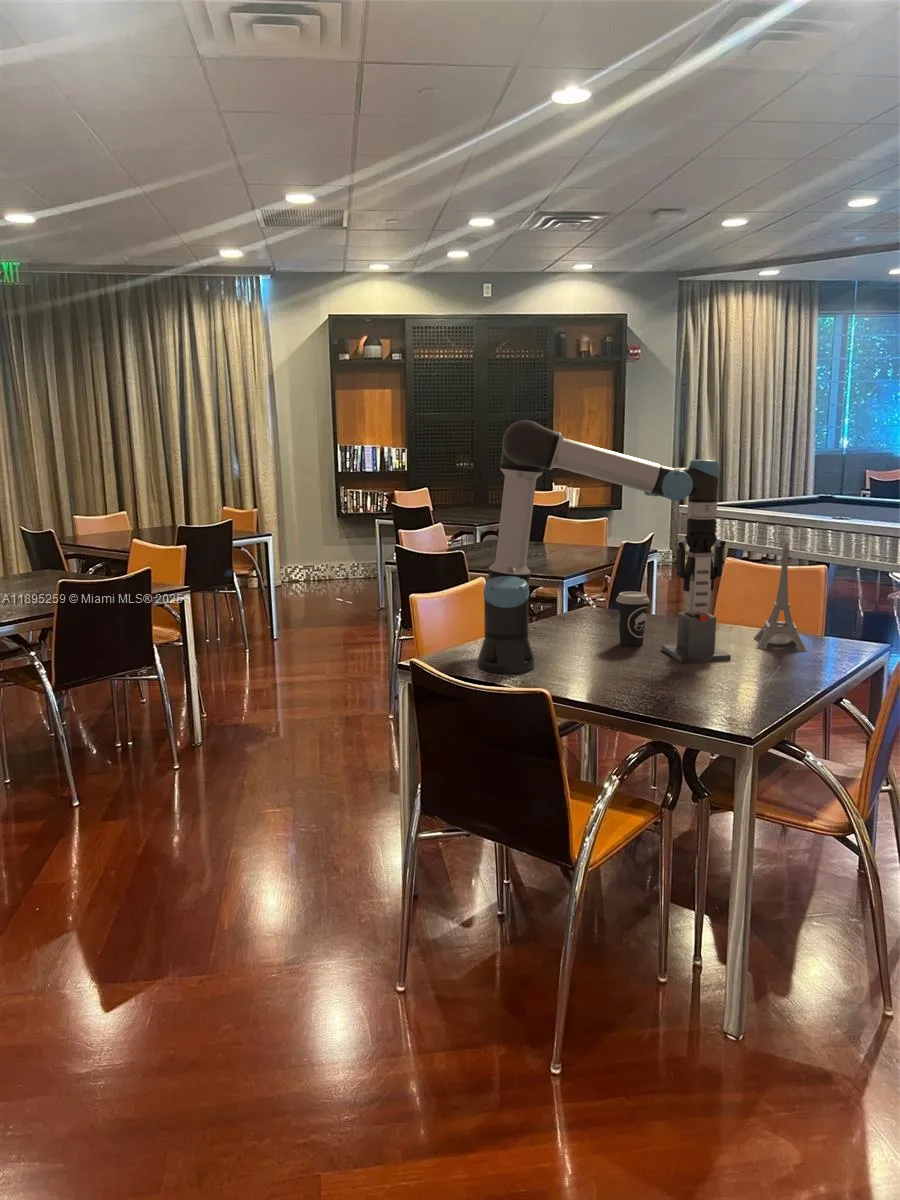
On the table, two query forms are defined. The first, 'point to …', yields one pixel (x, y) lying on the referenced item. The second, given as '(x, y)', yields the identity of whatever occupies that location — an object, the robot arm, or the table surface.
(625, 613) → the coffee cup
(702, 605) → the column
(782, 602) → the eiffel tower
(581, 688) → the table surface
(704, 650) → the stand base
